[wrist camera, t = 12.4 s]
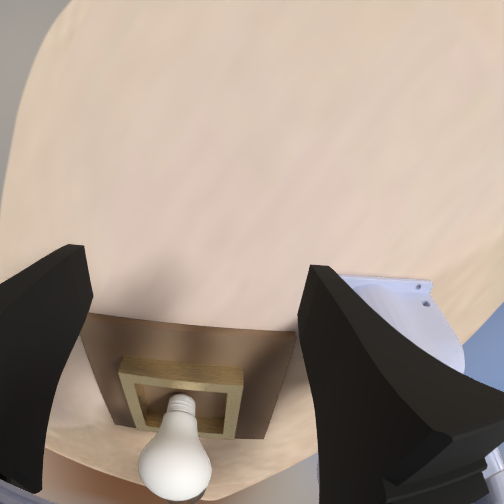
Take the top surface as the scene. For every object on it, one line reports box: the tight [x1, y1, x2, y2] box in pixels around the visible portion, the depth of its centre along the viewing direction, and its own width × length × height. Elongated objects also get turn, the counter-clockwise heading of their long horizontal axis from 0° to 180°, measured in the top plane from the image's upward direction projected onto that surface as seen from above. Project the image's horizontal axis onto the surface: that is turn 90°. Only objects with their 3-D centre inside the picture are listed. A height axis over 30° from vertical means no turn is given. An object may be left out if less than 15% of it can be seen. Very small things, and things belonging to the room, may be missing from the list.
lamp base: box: [80, 313, 296, 439], centre depth 29 cm, size 18×18×1 cm
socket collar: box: [118, 355, 243, 439], centre depth 28 cm, size 10×10×2 cm
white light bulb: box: [138, 394, 212, 501], centre depth 24 cm, size 6×6×11 cm
